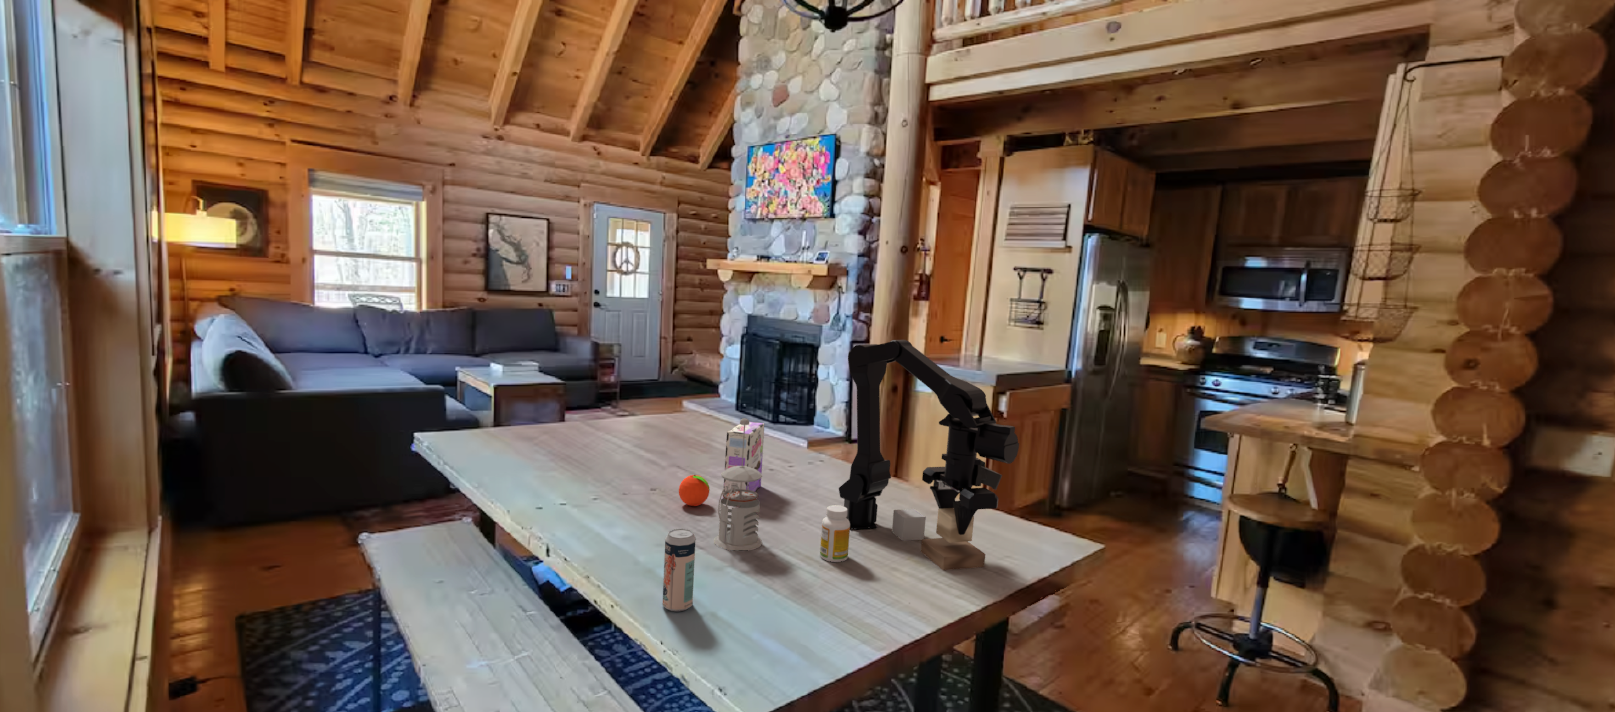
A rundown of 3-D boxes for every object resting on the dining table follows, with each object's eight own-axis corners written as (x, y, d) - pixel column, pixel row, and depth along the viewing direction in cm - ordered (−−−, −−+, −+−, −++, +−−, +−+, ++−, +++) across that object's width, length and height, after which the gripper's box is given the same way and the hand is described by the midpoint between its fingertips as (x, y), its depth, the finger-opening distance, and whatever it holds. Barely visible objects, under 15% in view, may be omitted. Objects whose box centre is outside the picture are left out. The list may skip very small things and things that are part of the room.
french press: (771, 539, 141) (778, 418, 138) (742, 558, 130) (749, 427, 128) (729, 529, 145) (736, 411, 142) (698, 546, 134) (704, 420, 132)
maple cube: (949, 542, 133) (951, 517, 133) (936, 533, 138) (938, 508, 137) (971, 541, 135) (974, 516, 134) (958, 531, 140) (960, 507, 139)
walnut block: (942, 572, 131) (944, 557, 131) (920, 553, 140) (921, 539, 139) (983, 568, 134) (985, 554, 134) (959, 550, 143) (960, 536, 142)
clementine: (718, 506, 159) (720, 475, 158) (698, 513, 153) (700, 482, 152) (692, 498, 163) (693, 468, 162) (671, 505, 157) (672, 474, 156)
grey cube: (902, 541, 145) (904, 517, 144) (891, 532, 150) (893, 509, 149) (923, 539, 146) (925, 516, 146) (912, 531, 151) (914, 508, 151)
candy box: (746, 502, 162) (750, 433, 161) (722, 499, 164) (725, 430, 162) (761, 486, 176) (765, 422, 174) (739, 483, 177) (743, 419, 175)
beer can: (664, 598, 112) (667, 527, 111) (693, 599, 113) (697, 528, 111) (660, 613, 108) (663, 538, 106) (691, 613, 108) (695, 539, 107)
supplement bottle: (850, 554, 136) (854, 506, 134) (843, 564, 130) (846, 514, 129) (824, 549, 137) (828, 501, 136) (816, 559, 132) (819, 510, 131)
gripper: (1026, 463, 128) (1018, 545, 130) (971, 439, 146) (964, 511, 148) (974, 465, 125) (966, 549, 126) (924, 440, 142) (917, 513, 144)
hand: (954, 529), depth 136 cm, fingers closed on maple cube, 5 cm apart
